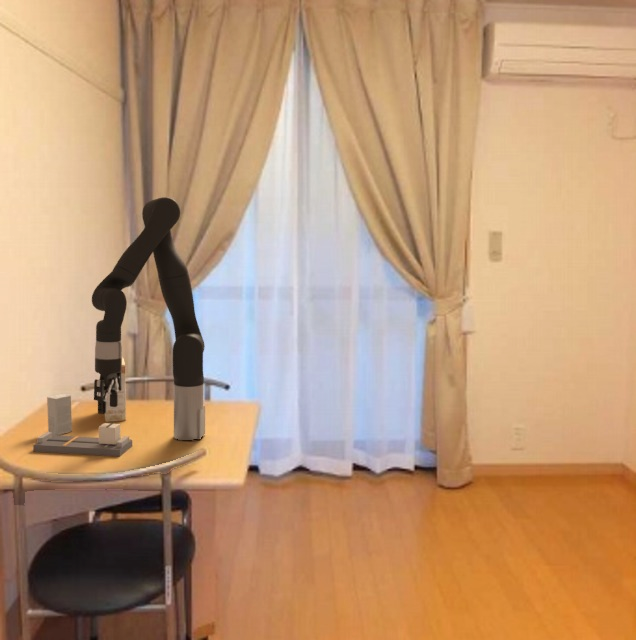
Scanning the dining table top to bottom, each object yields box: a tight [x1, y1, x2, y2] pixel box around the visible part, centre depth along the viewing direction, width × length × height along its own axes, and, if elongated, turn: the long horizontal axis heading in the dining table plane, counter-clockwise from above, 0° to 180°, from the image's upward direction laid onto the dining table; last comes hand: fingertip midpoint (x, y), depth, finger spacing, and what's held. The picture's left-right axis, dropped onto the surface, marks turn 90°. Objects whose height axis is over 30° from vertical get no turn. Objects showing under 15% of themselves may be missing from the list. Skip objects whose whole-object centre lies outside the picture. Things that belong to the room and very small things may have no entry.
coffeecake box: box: [104, 356, 127, 423], centre depth 245 cm, size 15×7×20 cm, turn 18°
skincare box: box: [46, 393, 73, 436], centre depth 224 cm, size 6×4×12 cm
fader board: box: [32, 431, 133, 457], centre depth 209 cm, size 26×10×4 cm, turn 85°
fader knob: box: [98, 422, 122, 444], centre depth 208 cm, size 5×4×5 cm
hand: (107, 410), depth 207 cm, fingers open, 8 cm apart
